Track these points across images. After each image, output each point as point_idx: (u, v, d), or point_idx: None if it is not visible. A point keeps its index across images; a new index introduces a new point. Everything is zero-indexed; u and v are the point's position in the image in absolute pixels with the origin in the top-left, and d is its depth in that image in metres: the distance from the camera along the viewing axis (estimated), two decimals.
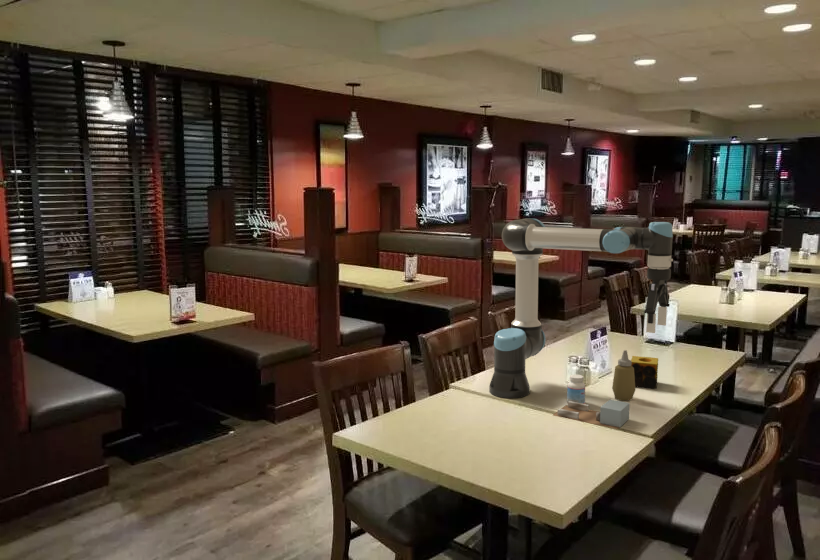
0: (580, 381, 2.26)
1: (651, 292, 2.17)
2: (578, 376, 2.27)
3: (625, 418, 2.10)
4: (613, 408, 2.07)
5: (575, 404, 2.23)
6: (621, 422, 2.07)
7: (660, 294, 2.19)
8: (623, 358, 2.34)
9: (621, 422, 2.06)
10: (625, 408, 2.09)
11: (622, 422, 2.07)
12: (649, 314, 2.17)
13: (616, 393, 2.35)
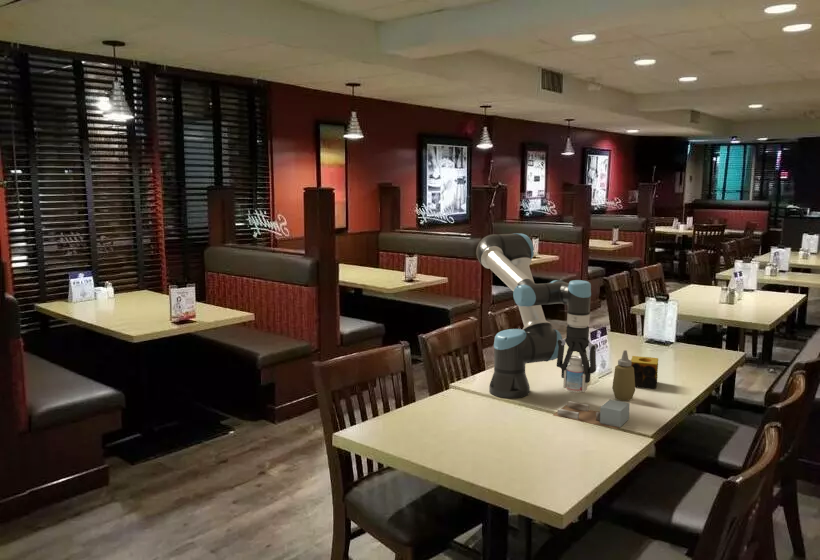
0: (580, 364, 2.25)
1: None
2: (578, 359, 2.27)
3: (625, 418, 2.10)
4: (613, 408, 2.07)
5: (575, 404, 2.23)
6: (621, 422, 2.07)
7: (568, 351, 2.27)
8: (622, 358, 2.34)
9: (621, 422, 2.06)
10: (625, 408, 2.09)
11: (622, 422, 2.07)
12: None
13: (616, 393, 2.35)
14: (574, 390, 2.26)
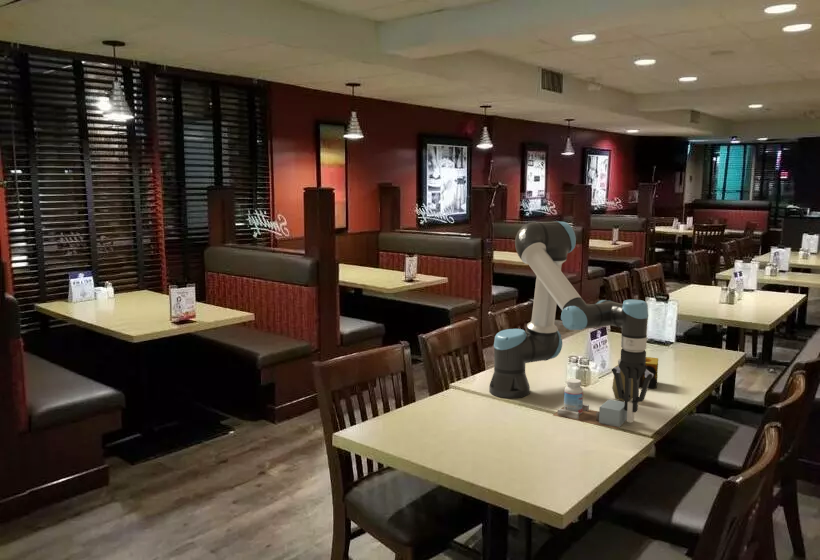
0: (577, 386, 2.16)
1: None
2: (575, 380, 2.17)
3: (624, 418, 2.10)
4: (612, 408, 2.07)
5: None
6: (620, 422, 2.07)
7: (626, 378, 2.05)
8: None
9: (620, 422, 2.06)
10: None
11: (621, 422, 2.08)
12: None
13: (616, 393, 2.35)
14: None
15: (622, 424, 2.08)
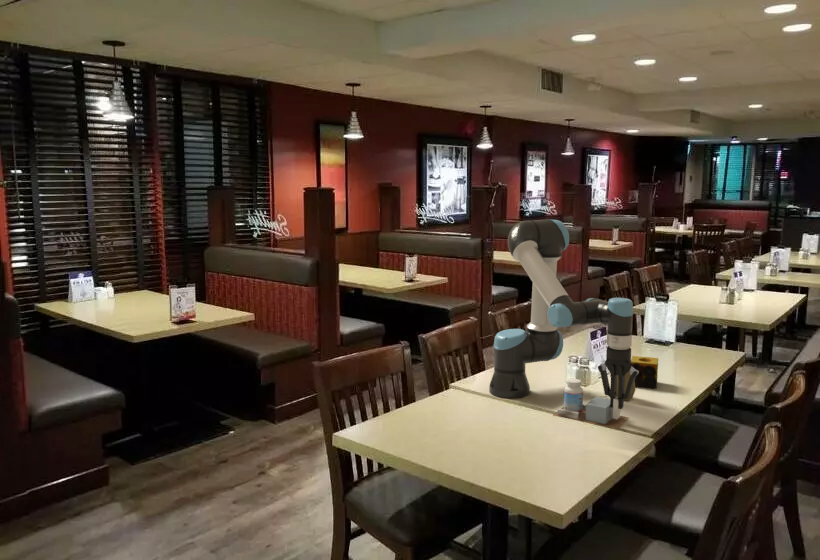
0: (577, 386, 2.16)
1: None
2: (575, 380, 2.17)
3: (610, 415, 2.13)
4: (599, 406, 2.10)
5: None
6: (606, 419, 2.09)
7: (611, 375, 2.08)
8: None
9: (606, 419, 2.09)
10: None
11: (607, 419, 2.10)
12: None
13: (616, 393, 2.35)
14: None
15: (622, 424, 2.08)
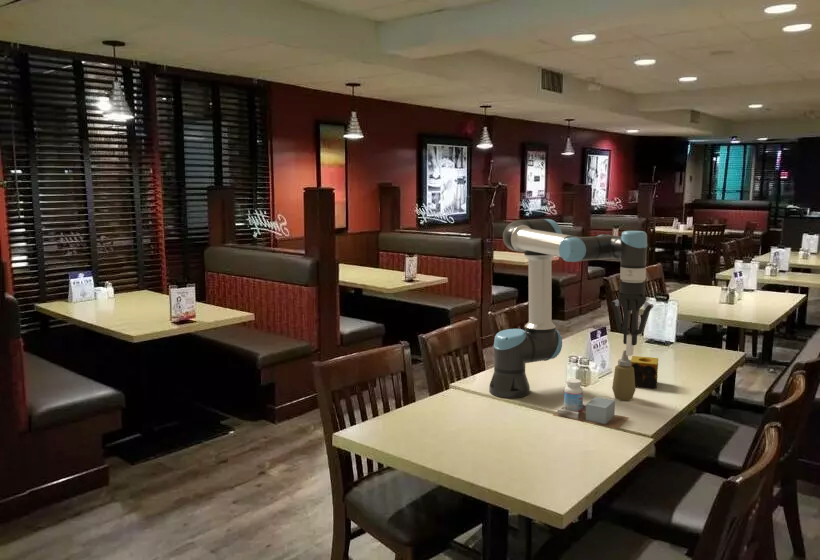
0: (577, 386, 2.16)
1: None
2: (575, 380, 2.17)
3: (610, 415, 2.13)
4: (599, 406, 2.10)
5: None
6: (606, 419, 2.09)
7: (625, 311, 2.03)
8: (622, 358, 2.34)
9: (606, 419, 2.09)
10: (610, 405, 2.12)
11: (607, 419, 2.10)
12: None
13: (616, 393, 2.35)
14: None
15: (622, 424, 2.08)
